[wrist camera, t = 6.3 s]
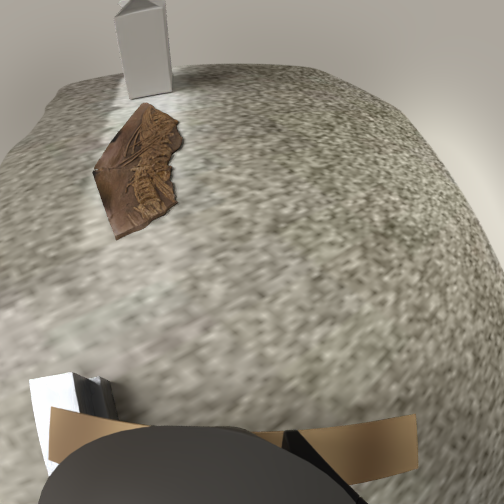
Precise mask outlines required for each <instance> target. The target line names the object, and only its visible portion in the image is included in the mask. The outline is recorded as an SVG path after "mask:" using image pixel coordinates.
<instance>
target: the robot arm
mask: <svg viewBox="0 0 504 504" xmlns="http://www.w3.org/2000/svg"><path fill="white" fill-rule="evenodd" d="M149 427H154V425H151V426H149ZM281 448H282V449H284V450H286V451H288V452H290V453H292V454H294V455H296V456H298V457H300V458H302V459H304V460H306V461H308V462H309V463H311V464H312V465H314V466H315V467H317V468H318V469H320V470H321V471H323V472H324V473H326V474H327V475H328V476H329V477H331V478H332V479H333V480H334V481H335V482H336V483H338V484H339V485H340V486H341V487H342V488H343V489H344V490H345V491H346V492H347V493H348V495H349V496H350V497H351V498H352V499H353V500H354V501H355V503H356V504H368V503H367V502H366V501H365V500H364V499H363V498H362V497H359V495H358V494H357V493H356V492H355V491H354V490H353V489H352V488H351V487H350V486H349V485H348V484H347V483H346V482H345V481H344V480H343V479H342V478H341V476H340V475H339V474H338V473H337V472H336V471H335V470H334V469H333V468H332V467H331V466H330V465H329V464H328V463H327V462H326V461H325V460H324V459H323V458H322V456H321V455H320V454H319V453H318V452H317V451H316V450H315V449H314V448H313V447H312V446H311V445H310V443H309V442H308V441H307V440H306V439H305V438H304V437H303V436H302V435H301V433H300V432H299V431H298V430H285V431H284V432H283V439H282V447H281Z"/></svg>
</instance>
